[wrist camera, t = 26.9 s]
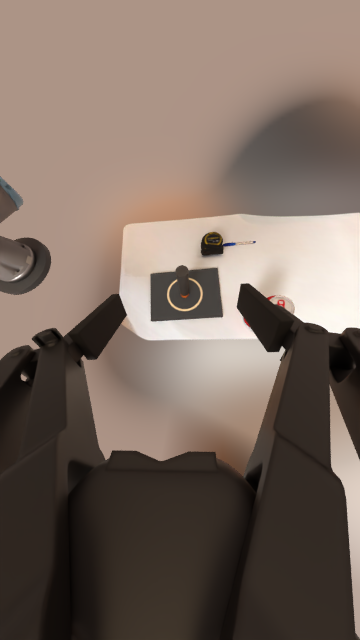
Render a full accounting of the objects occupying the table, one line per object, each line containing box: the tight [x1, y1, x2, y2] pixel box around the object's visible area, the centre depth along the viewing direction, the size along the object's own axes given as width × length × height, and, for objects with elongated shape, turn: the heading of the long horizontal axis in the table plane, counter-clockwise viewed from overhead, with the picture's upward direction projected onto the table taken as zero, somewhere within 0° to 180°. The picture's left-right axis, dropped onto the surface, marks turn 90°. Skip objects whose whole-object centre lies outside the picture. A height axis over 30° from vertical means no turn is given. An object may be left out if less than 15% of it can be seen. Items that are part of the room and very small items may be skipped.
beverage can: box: [244, 295, 295, 327], centre depth 32 cm, size 6×6×12 cm
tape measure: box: [201, 232, 223, 255], centre depth 42 cm, size 7×7×4 cm
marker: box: [175, 265, 189, 298], centre depth 34 cm, size 3×3×13 cm
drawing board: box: [151, 268, 223, 321], centre depth 41 cm, size 22×16×1 cm
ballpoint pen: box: [223, 241, 256, 246], centre depth 43 cm, size 10×1×1 cm, turn 94°
